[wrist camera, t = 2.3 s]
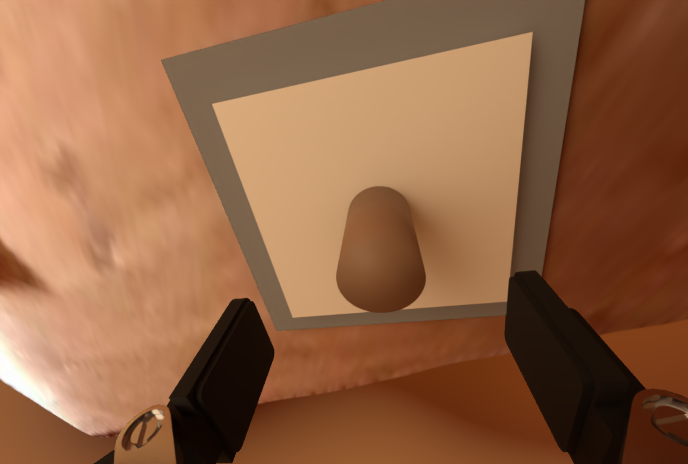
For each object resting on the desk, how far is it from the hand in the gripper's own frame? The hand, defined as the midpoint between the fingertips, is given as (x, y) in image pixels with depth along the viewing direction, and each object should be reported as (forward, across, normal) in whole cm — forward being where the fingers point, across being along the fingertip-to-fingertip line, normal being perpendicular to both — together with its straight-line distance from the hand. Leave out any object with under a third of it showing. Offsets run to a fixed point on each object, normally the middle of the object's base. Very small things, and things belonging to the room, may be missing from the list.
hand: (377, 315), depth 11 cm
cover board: (+9, 0, -1) cm, 9 cm away
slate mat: (+9, 0, -1) cm, 9 cm away
